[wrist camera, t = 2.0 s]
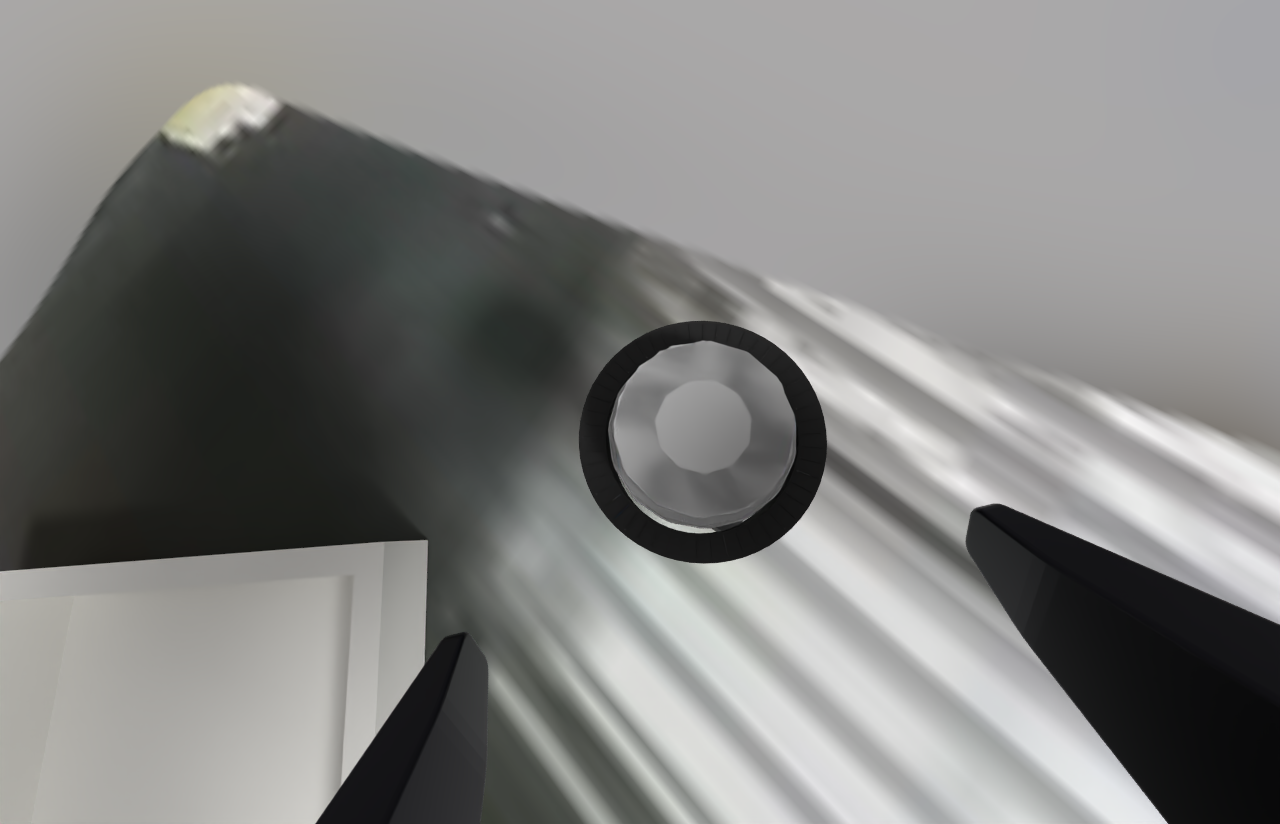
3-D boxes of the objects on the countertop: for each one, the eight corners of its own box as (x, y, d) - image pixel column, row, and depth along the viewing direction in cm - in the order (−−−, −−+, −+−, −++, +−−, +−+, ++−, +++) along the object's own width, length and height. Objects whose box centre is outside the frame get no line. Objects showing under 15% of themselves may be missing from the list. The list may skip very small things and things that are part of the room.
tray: (414, 1016, 16) (356, 1125, 13) (-15, 1028, 17) (-161, 1133, 14) (428, 539, 19) (384, 541, 17) (74, 567, 20) (-27, 573, 17)
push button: (568, 482, 20) (465, 435, 10) (639, 373, 21) (606, 232, 11) (713, 575, 18) (757, 626, 9) (782, 455, 19) (890, 380, 10)
